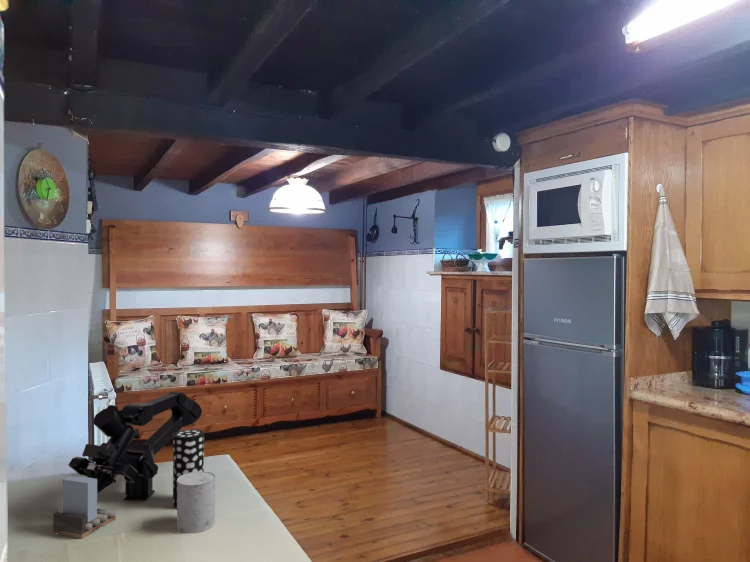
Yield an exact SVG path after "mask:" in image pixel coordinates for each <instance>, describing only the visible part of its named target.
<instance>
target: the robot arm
mask: <svg viewBox="0 0 750 562" xmlns="http://www.w3.org/2000/svg"><path fill="white" fill-rule="evenodd" d="M202 409H203V408H202V407H201V405H200V404H199V403H198V402H196V401H195V400H193V399H191V398H190V397H188V396H187V395H186V394H185V393H183V392H180V391H170V392H168V393H167V394H165V395H162V396H159V397H157V398H154V399H152V400H149V401H147V402H139V403H137V402H136V403H129V404H126V405H124V406H123V407H122V409H120V410H119V408H118V407H117V406H116V405H114V404H108V406H107V408H103V409H102V410H100V411H99V412H98V413H96V414H95V415H94V417H93V425H95V427H96V428H97V429H98V430H99V431H100V432H101V433H103V434H104V435H105V436H106V437H107V438H108V440H107V442H102V443H101V444H100V445H99V444H91V443H90V444H89V443H86V444H85V446H84V449H83V451H82V455H81V456H82V457H80V456H75V457H72V458H71V460H70V462H69V463H68V465H67V466H68V467H69V468H71V469H72V470H73V471H74V472H76V473H77V474H78V475H79V476H83V477H88V478H95V479H97V495H98V494H100V492H102V491H103V490H104V489H105V490H106V488H108V487H110V485H112V484H116V483H117V480H116V479H117V477H118V476H122V477H123V478H124V481H125V484H124V486H125V488H124V489H125V491H124V492H125V493H124V495H125V497H123V500H124V501H146V500H148V499H149V498H150V497H151V496H152V495H154V494H155V493H156V490H155V489H153V486H154V485H153V478H155V476H156V475H158V471H159V465H157V464H156V463H155V457H156V454H157V453H159V452H160V450H162V449H163V448H164V447H165V446H166V444H168V443H169V441H171V440H172V439H173V434H174V433H176V432H178V431H181V430H182V429H183V428H185V427H187V426H190V425H192V424H195V422H197V421H198V420H199V419H200V418H201V416H202V413H203V411H202ZM169 410H170V411H171V415H170V418H168V419H167V420H166V422H164V423H163V424H162V425H161V426H160V427H159V428H158V429H157V430H156V431H155V432H154V433H153V434H151V436H149V437H148V438H147V440H145V442H143V443H137V442H133V440H134V439H135V440H140V438H141V434H140V432H139V428H134V427H133V426H135V427H137V426H138V427H144V426H145V425H147V424H149V423H150V422H151V421H153V418H154V417H156V416H157V415H159V414H162V413H163V412H166V411H169ZM132 442H133V443H132ZM87 457H89V458H90V460H91V461H92V462H91V461H90V460H89V459H88V458H87Z"/></svg>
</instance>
